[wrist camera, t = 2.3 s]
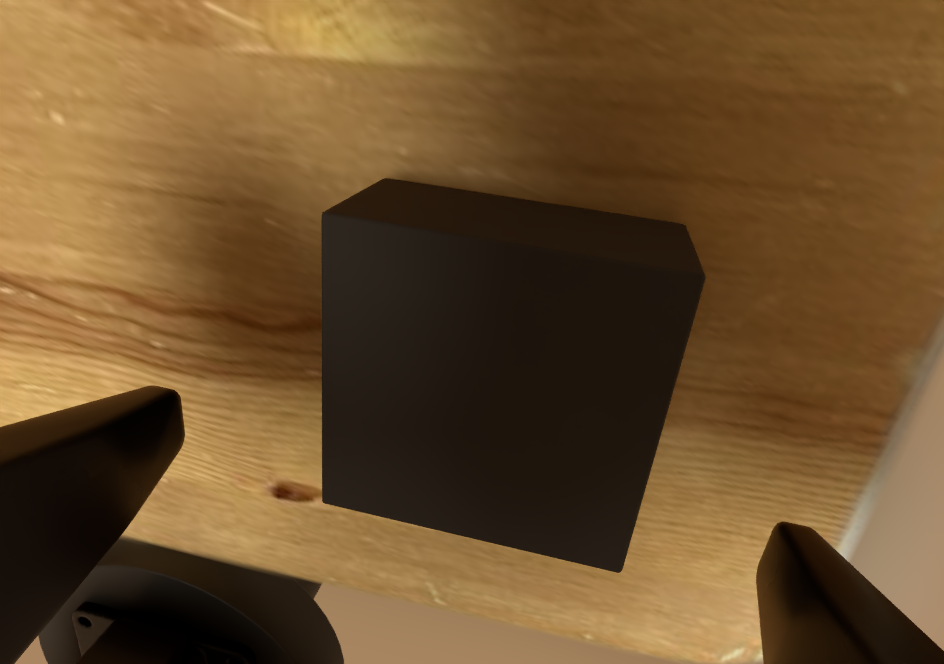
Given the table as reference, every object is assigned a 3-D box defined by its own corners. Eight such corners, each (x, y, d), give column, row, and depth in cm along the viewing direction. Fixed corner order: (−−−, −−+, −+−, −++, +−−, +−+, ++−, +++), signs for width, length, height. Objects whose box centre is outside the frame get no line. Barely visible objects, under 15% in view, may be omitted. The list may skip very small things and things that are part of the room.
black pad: (620, 476, 14) (621, 575, 12) (372, 423, 15) (320, 503, 12) (686, 223, 12) (707, 275, 9) (383, 177, 12) (319, 211, 10)
